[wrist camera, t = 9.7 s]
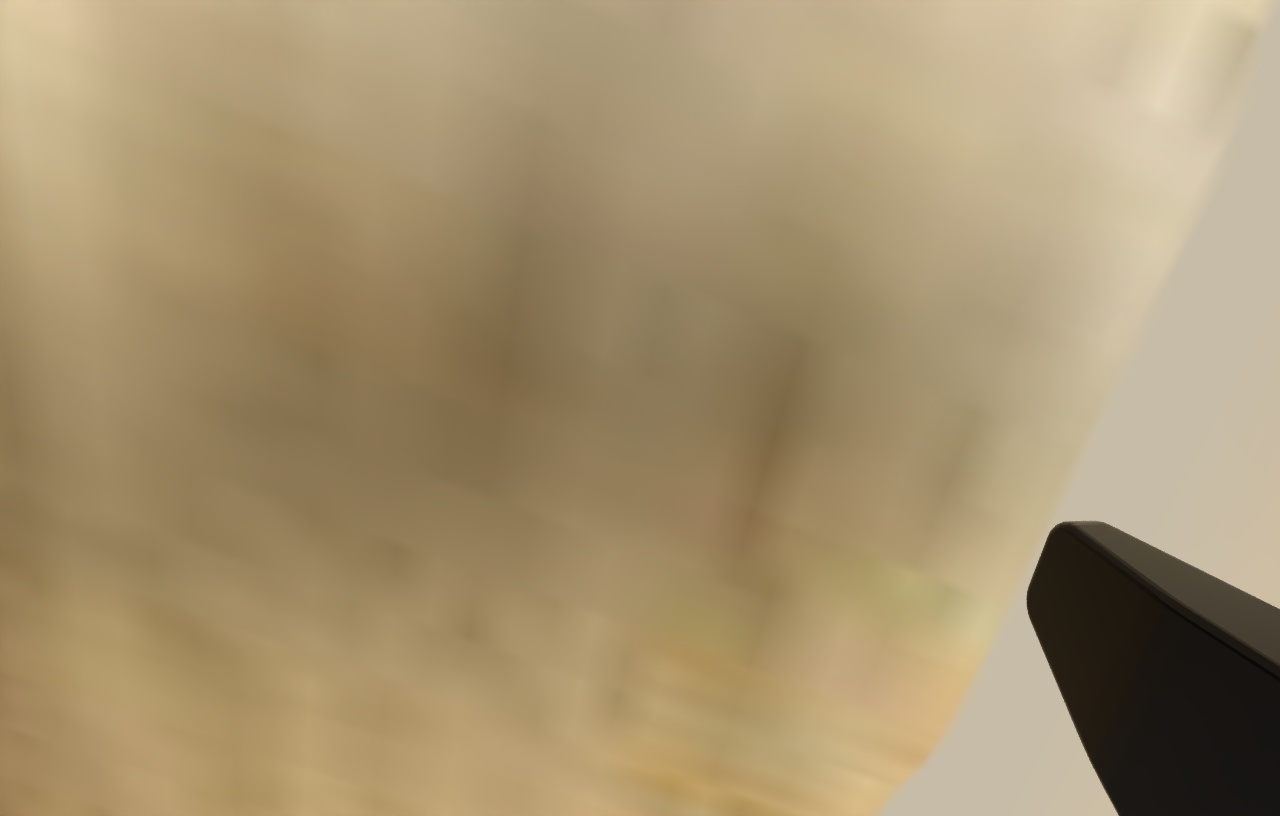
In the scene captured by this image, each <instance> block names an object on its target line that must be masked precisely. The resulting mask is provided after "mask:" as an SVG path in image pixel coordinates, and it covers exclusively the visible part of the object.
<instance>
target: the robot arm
mask: <svg viewBox="0 0 1280 816" xmlns="http://www.w3.org/2000/svg"><path fill="white" fill-rule="evenodd" d="M1027 609H1028V614H1029V618H1030V620H1031V623H1032V625H1033V627H1034V630H1035V632H1036V635H1037V637H1038V639H1039V642H1040V644H1041V646H1042V649H1043V651H1044V653H1045V656H1046V658H1047V661H1048V663H1049V666H1050V668H1051V670H1052V673H1053V675H1054V678H1055V680H1056V682H1057V684H1058V687H1059V690H1060V692H1061V694H1062V697H1063V699H1064V702H1065V703H1066V706H1067V709H1068V711H1069V713H1070V716H1071V718H1072V721H1073V723H1074V725H1075V728H1076V730H1077V733H1078V735H1079V737H1080V740H1081V742H1082V744H1083V746H1084V748H1085V751H1086V753H1087V755H1088V757H1089V760H1090V762H1091V764H1092V766H1093V768H1094V769H1095V772H1096V773H1097V776H1098V778H1099V779H1100V781H1101V783H1102V785H1103V787H1104V789H1105V791H1106V793H1107V795H1108V796H1109V798H1110V800H1111V802H1112V804H1113V806H1114V808H1115V810H1116V811H1117V813H1118V815H1119V816H1280V609H1278V608H1276V607H1274V606H1272V605H1270V604H1268V603H1266V602H1264V601H1262V600H1260V599H1258V598H1256V597H1254V596H1252V595H1250V594H1248V593H1246V592H1244V591H1242V590H1240V589H1238V588H1236V587H1234V586H1232V585H1230V584H1228V583H1226V582H1224V581H1222V580H1220V579H1218V578H1216V577H1214V576H1212V575H1210V574H1207V573H1206V572H1204V571H1202V570H1199V569H1198V568H1196V567H1193V566H1192V565H1189V564H1187V563H1185V562H1183V561H1181V560H1179V559H1177V558H1175V557H1173V556H1171V555H1169V554H1167V553H1165V552H1163V551H1161V550H1159V549H1157V548H1155V547H1153V546H1151V545H1149V544H1147V543H1145V542H1143V541H1141V540H1139V539H1137V538H1135V537H1133V536H1131V535H1129V534H1127V533H1125V532H1123V531H1121V530H1119V529H1117V528H1115V527H1113V526H1111V525H1109V524H1106V523H1104V522H1099V521H1075V522H1074V521H1072V522H1071V521H1070V522H1062V523H1060V524H1057V525H1056V526H1055V527H1054V528H1053V529H1052V530H1051V531H1050V533H1049V535H1048V538H1047V540H1046V543H1045V545H1044V548H1043V551H1042V553H1041V556H1040V558H1039V561H1038V564H1037V566H1036V569H1035V571H1034V574H1033V577H1032V579H1031V582H1030V584H1029V587H1028V591H1027Z"/></svg>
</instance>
